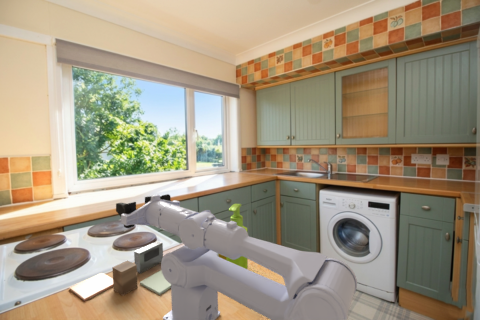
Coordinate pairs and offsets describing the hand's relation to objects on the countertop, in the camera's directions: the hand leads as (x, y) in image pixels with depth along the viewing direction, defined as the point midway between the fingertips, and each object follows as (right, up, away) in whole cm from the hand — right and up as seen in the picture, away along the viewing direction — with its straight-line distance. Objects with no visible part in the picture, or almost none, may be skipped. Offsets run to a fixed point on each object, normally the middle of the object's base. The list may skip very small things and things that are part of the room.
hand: (132, 203), depth 60 cm
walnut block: (-2, -22, +1) cm, 22 cm away
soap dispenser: (+26, -21, +7) cm, 34 cm away
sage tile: (+6, -21, +4) cm, 23 cm away
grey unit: (0, -21, +12) cm, 24 cm away
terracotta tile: (-11, -22, +2) cm, 24 cm away
